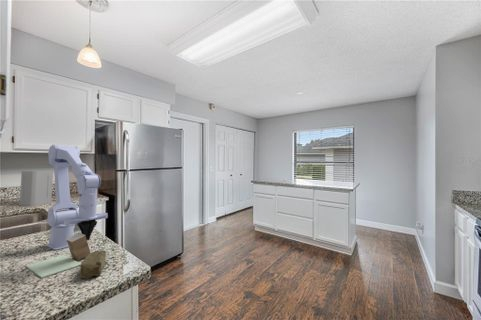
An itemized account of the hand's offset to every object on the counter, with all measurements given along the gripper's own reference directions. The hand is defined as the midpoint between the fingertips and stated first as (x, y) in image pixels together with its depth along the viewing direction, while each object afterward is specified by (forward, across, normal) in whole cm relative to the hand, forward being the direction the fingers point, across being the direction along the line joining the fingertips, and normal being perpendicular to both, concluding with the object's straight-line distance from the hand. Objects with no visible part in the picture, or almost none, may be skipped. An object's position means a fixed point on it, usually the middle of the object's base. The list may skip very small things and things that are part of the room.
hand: (86, 239), depth 85 cm
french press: (+7, +16, +40) cm, 44 cm away
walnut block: (+6, -1, 0) cm, 6 cm away
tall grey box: (+7, +25, +143) cm, 145 cm away
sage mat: (+6, -10, 0) cm, 12 cm away
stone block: (+7, -4, -15) cm, 17 cm away
